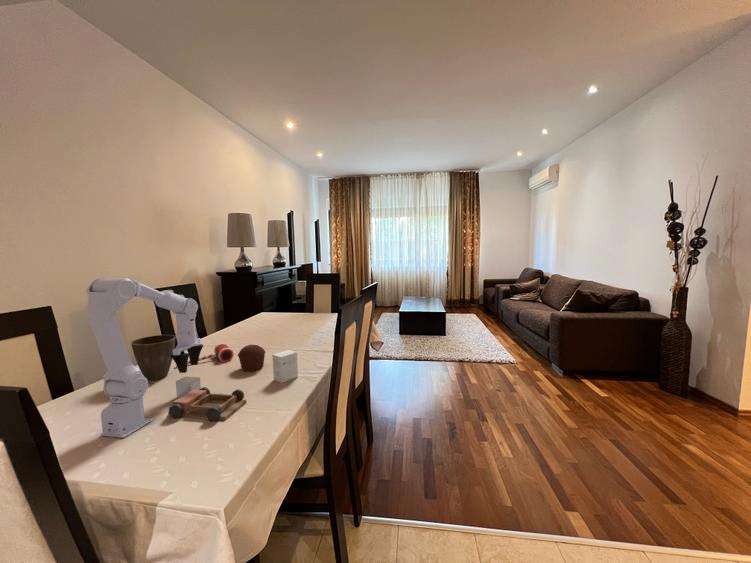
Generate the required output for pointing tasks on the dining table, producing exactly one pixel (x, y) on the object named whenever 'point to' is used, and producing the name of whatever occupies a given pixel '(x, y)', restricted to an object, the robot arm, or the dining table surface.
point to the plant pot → (154, 355)
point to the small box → (285, 366)
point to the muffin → (251, 358)
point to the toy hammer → (220, 353)
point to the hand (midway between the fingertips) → (188, 368)
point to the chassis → (207, 404)
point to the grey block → (187, 385)
